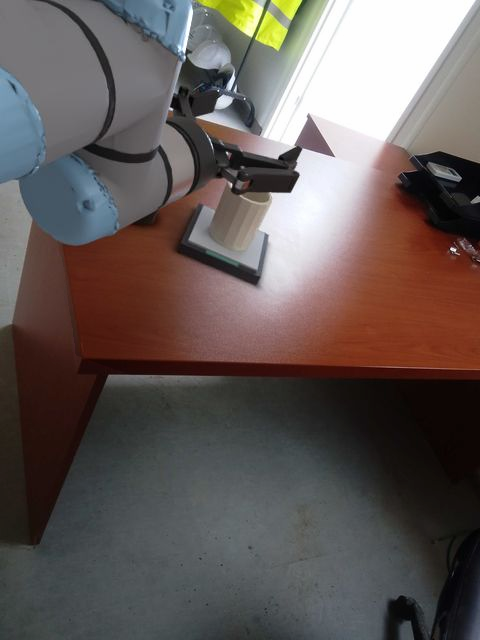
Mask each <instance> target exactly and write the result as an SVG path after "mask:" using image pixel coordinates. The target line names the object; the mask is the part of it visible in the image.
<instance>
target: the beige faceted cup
mask: <svg viewBox="0 0 480 640" xmlns="http://www.w3.org/2000/svg"><path fill="white" fill-rule="evenodd" d="M232 185H233V184H231V183H230V182H229V181H227V180H226V184H225V186H224V189H223V191H222V193H221V195H220V199H219V201H218V204H217V206H216V209H215V210H216V211H215V213H214V216H213V218H212V221H211V224H210V226H209V233H210V235H211V237H212V238H213V239H214V240H215V241H216V242H217V243H219V244H220V245H222V246H223V247H226V248H228V249H231V250H235V251H244V250H246V249H248V248H249V247H250V245H251V244H252V242H253V239H254V237H255V235H256V233H257V231H258V230H259V229H260V227H261V225H262V223H263V221H264V219H265V217H266V215H267V213H268V212H269V210H270V207H271V205H272V202H273V195H272V193H258V192H247V193H245V194H242V195H235V194H233V193H232V192H231V188H232Z"/></svg>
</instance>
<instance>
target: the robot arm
mask: <svg viewBox="0 0 480 640" xmlns="http://www.w3.org/2000/svg"><path fill="white" fill-rule="evenodd" d="M192 21H193V4H192V2H191V0H0V185H2V184H5V183H8V182H11V181H18V186H19V193H20V196H21V199H22V202H23V204H24V207H25V208H26V211H27V212H28V214H29V216H30V217H31V218H32V220H33V221H34V223H35V224H36V225H37V226H38V227H39V228H40V229H41V230H42V231H43V232H44V233H46V234H47V235H49V236H50V237H51V238H53V240H55V241H57V242H59V243H61V244H64V245H68V246H82V245H83V246H84V245H87V244H89V243H92V242H95V241H97V240H99V239H103V238H106V237H111V236H113V235H115V234H116V233H117V232H118V231H120V230H122V229H124V228H126V227H128V226H130V225H131V224H134V223H133V222H135V221H137V220H139V219H141V218H143V217H145V216H147V215H149V214H151V213H152V212H154V211H156V210H158V209H159V210H160V209H162V208H165V207H166V206H169V205H170V204H173V203H174V202H176V201H178V200H180V199H182V198H184V197H187V196H189V195H191V194H193V193H195V192H197V191H200V190H201V189H202V188H204V187H205V186H207V185H208V183H210V182H211V181H212V180H223V179H224V180H226V182H227V181H229V182H230V183H231V184H233V185H232V188H231V192H232V193H233V194H235V195H242V194H245V193H247V192H258V193H271V194H291V193H292V191H293V190H294V188H295V186H296V184H297V183H298V180H299V178H300V176H301V173H300V172H299V171H297V170H296V168H297V166H298V159H299V157H300V155H301V154H302V151H303V150H304V149H303V148H302V147H301V146H299V145H297V146H294V147H292V148H291V149H289V150H286V151H285V152H283V153H281V154H279V155H278V157H277V158H274V157H270V156H265V155H261V154H257V153H252V152H248V151H244V150H242V149H241V147H240V146H239V145H238V144H233V143H230V142H226V141H222V140H221V139H220V138H218V137H214V136H212V135H211V133H209V132H208V131H206V130H205V129H204V128H203V127H202V126H201V125H200V124H199V123H198V121H197V117H203V116H205V115H210V114H213V113H214V111H215V108H216V107H217V103H218V99H219V96H220V94H221V93H220V92H219V91H218V90H216V89H213V90H207V91H201V92H198V93H193V92H190V89H189V88H188V87H187V86H186V85H179V86H178V91H177V93H176V92H175V90H176V86H177V83H178V79H179V75H180V73H181V68H182V65H183V64H184V63H185V61H186V58H187V57H186V51H187V50H186V49H187V45H188V41H189V34H190V29H191V25H192ZM170 109H172V114H173V116H170V117H168V115H169V111H170ZM229 154H230V157H229ZM159 210H158V211H159Z"/></svg>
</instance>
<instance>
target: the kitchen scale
mask: <svg viewBox="0 0 480 640" xmlns="http://www.w3.org/2000/svg"><path fill="white" fill-rule="evenodd" d="M215 211H216V209H214V208H211V207H209V206H208V205H205V204H203V203H200V202H199V203H198V204H197V205H196V209H195V210H194V213H193V215H192V218H191V219H190V222H189V223H188V226H187V228H186V230H185V232H184V235H183V237H182V239H181V241H180V244H179V246H178V248H177V253H179V254H182V255H184V256H187V257H188V258H191V259H193V260H196V261H198V262H201V263H203V264H206V265H208V266H209V267H212V268H214V269H217V270H219V271H221V272H224V273H226V274H228V275H231V276H233V277H236V278H237V279H240V280H243V281H245V282H247V283H249V284H251V285H254V286H257V285H258V283H259V282H260V280H261V278H262V274H263V268H264V263H265V257H266V252H267V247H268V243H269V237H270V234H268V233H266V232H264V231H261V230H259V229H258V231H257V233H256V235H255V237H254V239H253V242H252V244H251V245H250V247H249V248H248V249H246V250H244V251H235V250H231V249H228V248H226V247H223V246H222V245H220V244H219V243H217V242H216V241H215V240H214V239H213V238H212V237H211V235H210V233H209V226H210V224H211V221H212V218H213V216H214V213H215Z"/></svg>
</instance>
